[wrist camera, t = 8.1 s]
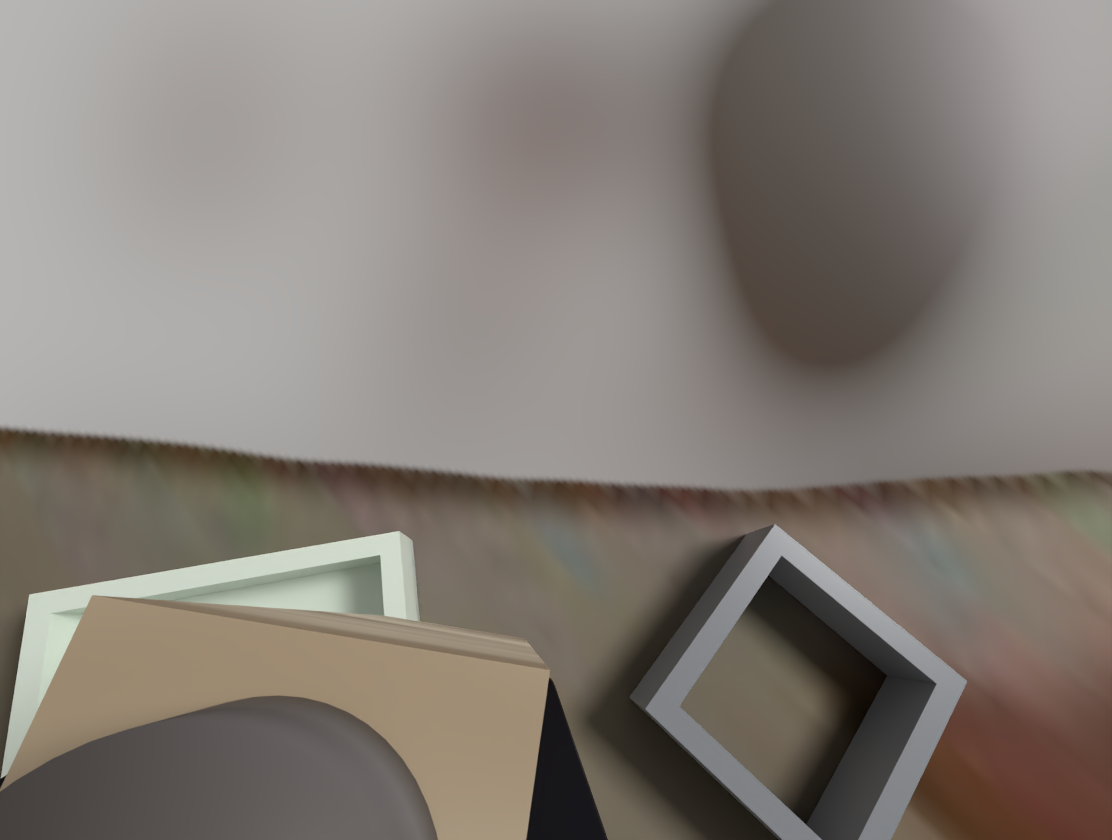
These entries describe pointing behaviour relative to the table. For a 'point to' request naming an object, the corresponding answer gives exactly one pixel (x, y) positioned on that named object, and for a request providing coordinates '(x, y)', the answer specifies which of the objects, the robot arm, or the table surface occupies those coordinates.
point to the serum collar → (886, 731)
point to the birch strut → (278, 729)
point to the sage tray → (223, 601)
